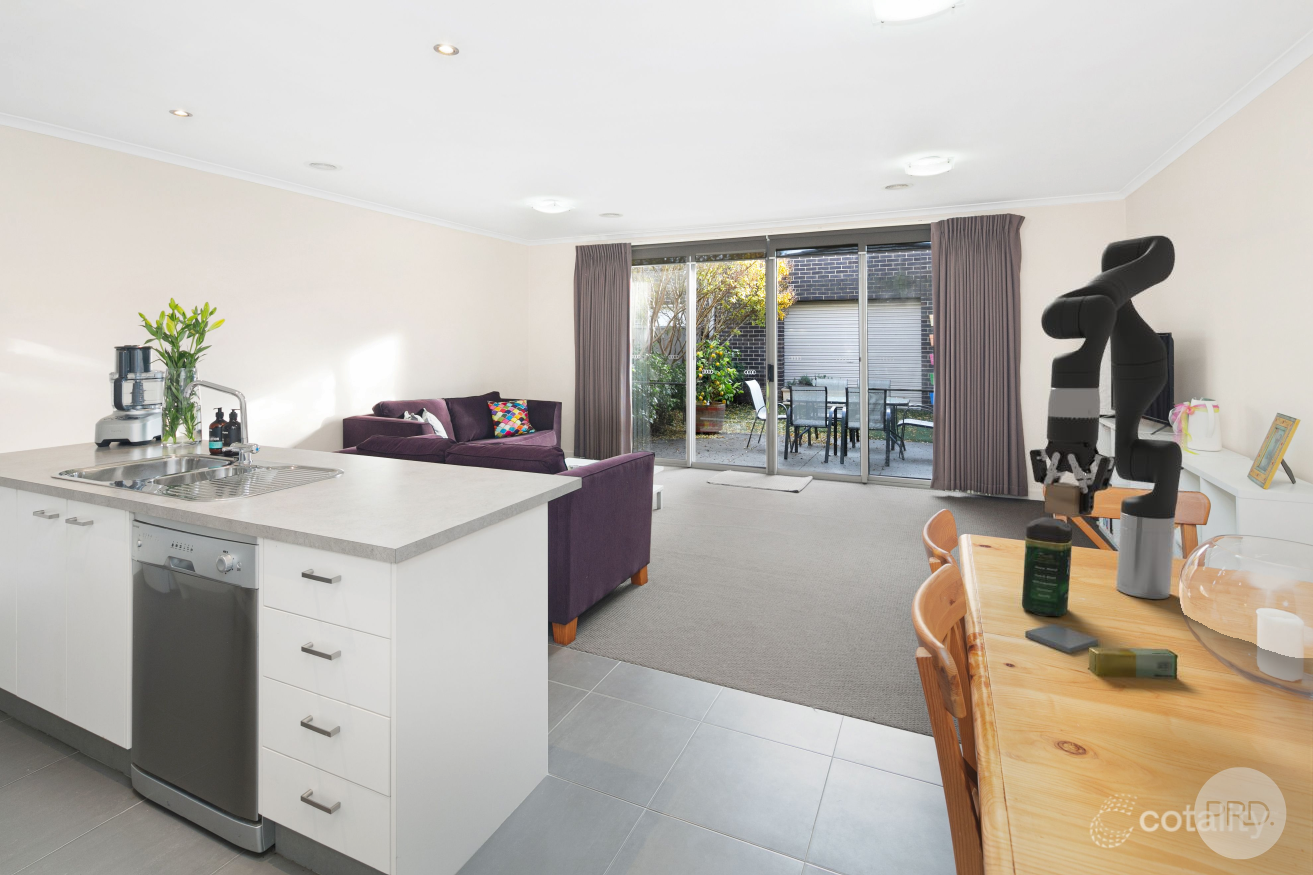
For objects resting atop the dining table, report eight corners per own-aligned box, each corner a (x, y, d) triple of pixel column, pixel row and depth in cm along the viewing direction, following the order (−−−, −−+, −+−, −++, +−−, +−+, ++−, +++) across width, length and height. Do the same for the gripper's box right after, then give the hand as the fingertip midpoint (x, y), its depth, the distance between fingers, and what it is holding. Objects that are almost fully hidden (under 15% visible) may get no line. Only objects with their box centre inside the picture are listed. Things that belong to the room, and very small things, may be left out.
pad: (1053, 628, 120) (1053, 623, 120) (1098, 644, 113) (1098, 639, 113) (1025, 636, 117) (1025, 631, 117) (1069, 653, 109) (1069, 647, 109)
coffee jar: (1065, 621, 124) (1070, 526, 122) (1018, 612, 128) (1022, 521, 127) (1070, 606, 131) (1075, 517, 129) (1026, 598, 136) (1030, 512, 134)
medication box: (1166, 672, 103) (1167, 648, 103) (1178, 679, 100) (1179, 655, 100) (1086, 669, 104) (1087, 645, 104) (1096, 677, 101) (1097, 652, 101)
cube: (1062, 509, 116) (1064, 480, 115) (1091, 514, 111) (1093, 485, 111) (1044, 512, 114) (1046, 483, 113) (1073, 517, 109) (1074, 487, 109)
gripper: (1131, 415, 106) (1125, 516, 108) (1046, 411, 119) (1042, 501, 120) (1103, 417, 103) (1097, 521, 104) (1019, 413, 116) (1015, 505, 117)
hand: (1068, 510), depth 112 cm, fingers closed on cube, 5 cm apart
